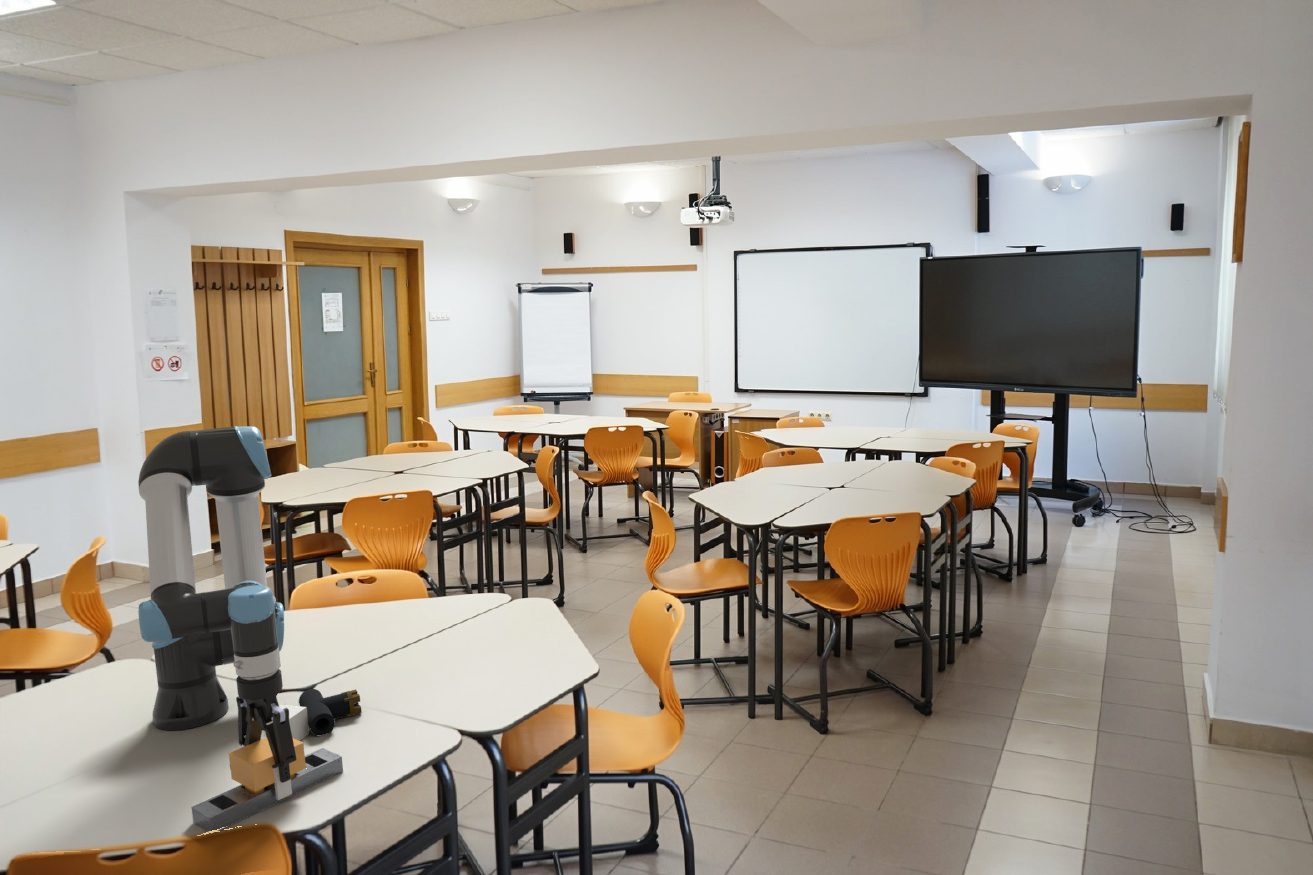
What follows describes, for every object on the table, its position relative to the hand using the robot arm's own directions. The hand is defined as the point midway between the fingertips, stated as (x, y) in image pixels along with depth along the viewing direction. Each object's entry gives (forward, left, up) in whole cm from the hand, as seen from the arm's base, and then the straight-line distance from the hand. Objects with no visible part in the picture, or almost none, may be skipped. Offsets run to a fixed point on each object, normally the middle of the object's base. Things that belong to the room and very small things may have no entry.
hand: (271, 789), depth 174 cm
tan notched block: (0, 0, 0) cm, 0 cm away
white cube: (-19, +15, -2) cm, 24 cm away
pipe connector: (-20, +26, -2) cm, 33 cm away
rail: (0, 0, -1) cm, 1 cm away
